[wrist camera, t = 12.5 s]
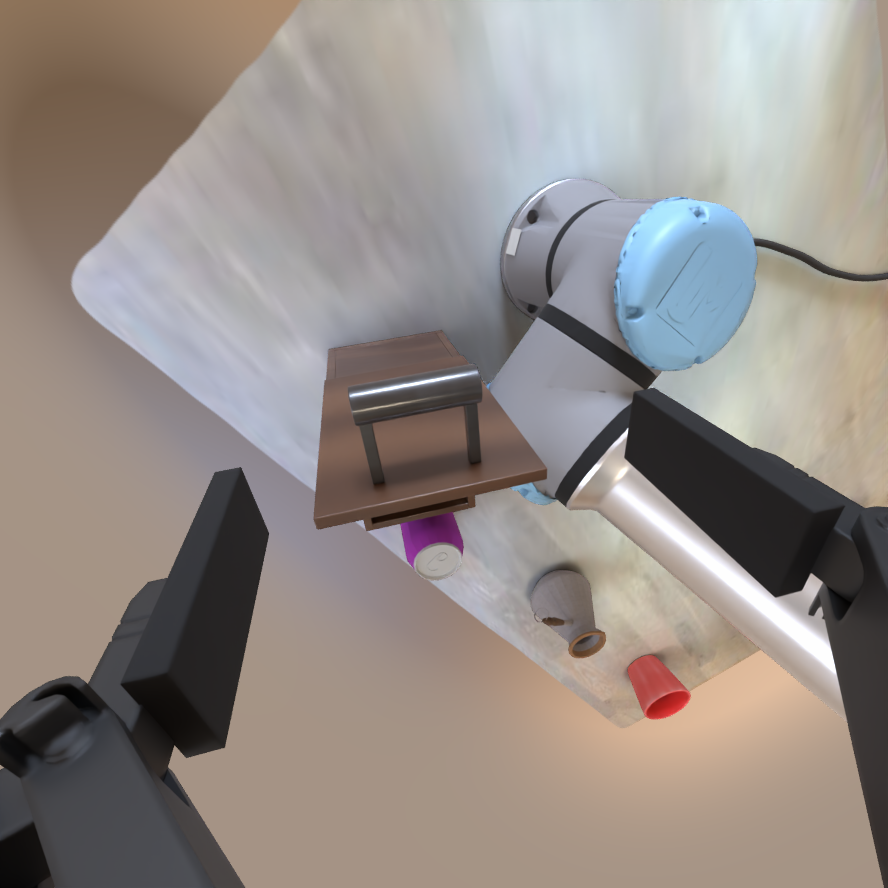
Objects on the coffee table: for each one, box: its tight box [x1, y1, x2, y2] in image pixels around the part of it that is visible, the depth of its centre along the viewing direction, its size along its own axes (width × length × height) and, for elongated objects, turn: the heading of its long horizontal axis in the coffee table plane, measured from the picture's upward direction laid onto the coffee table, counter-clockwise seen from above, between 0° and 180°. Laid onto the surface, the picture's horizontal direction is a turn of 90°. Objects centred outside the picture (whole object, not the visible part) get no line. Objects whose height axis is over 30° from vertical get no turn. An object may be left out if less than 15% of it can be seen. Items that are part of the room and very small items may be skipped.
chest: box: [326, 330, 476, 531], centre depth 51 cm, size 19×14×10 cm
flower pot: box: [628, 655, 691, 719], centre depth 98 cm, size 11×11×10 cm
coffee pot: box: [531, 570, 606, 658], centre depth 71 cm, size 21×12×15 cm, turn 41°
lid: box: [314, 356, 547, 529], centre depth 31 cm, size 20×14×7 cm
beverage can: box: [401, 512, 464, 581], centre depth 59 cm, size 8×8×12 cm
